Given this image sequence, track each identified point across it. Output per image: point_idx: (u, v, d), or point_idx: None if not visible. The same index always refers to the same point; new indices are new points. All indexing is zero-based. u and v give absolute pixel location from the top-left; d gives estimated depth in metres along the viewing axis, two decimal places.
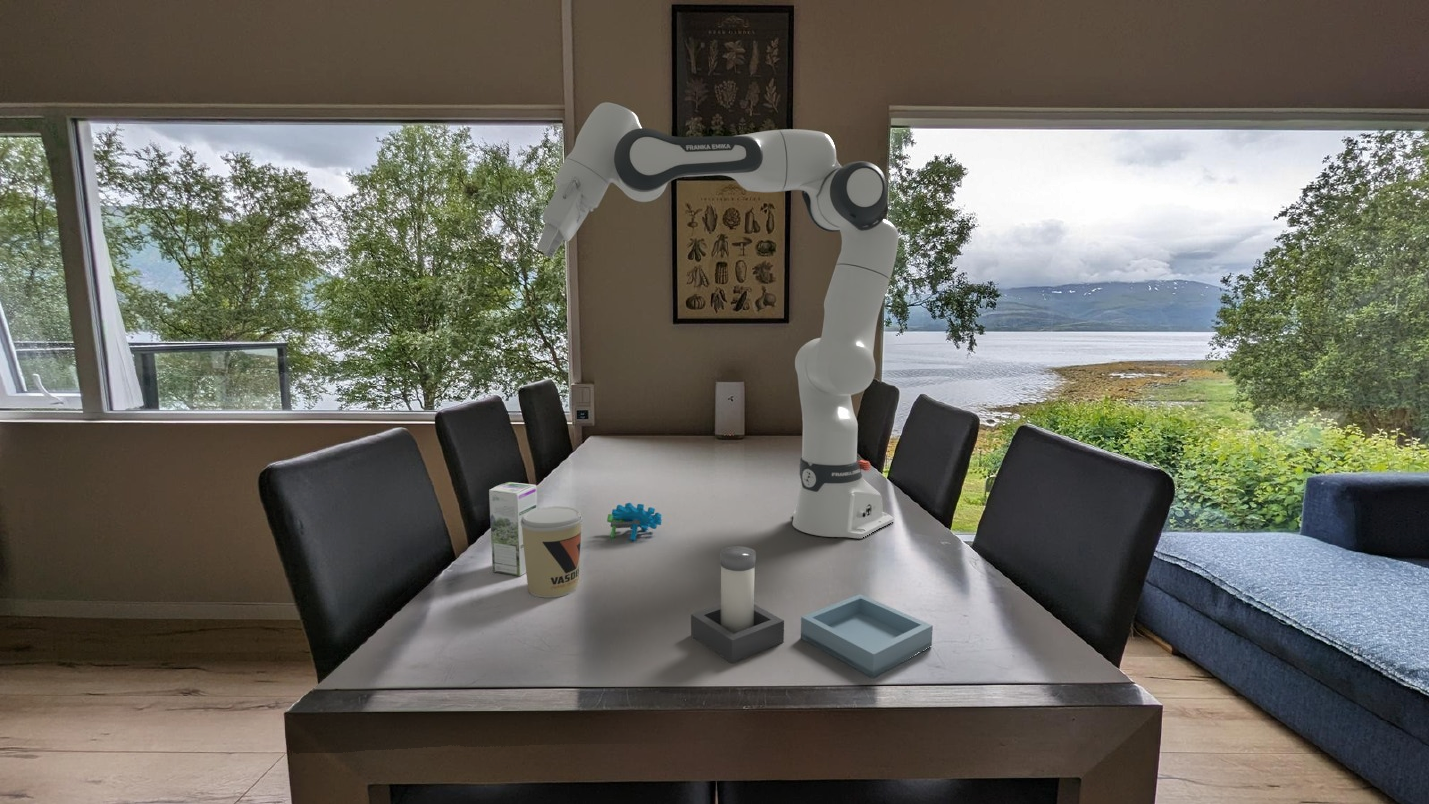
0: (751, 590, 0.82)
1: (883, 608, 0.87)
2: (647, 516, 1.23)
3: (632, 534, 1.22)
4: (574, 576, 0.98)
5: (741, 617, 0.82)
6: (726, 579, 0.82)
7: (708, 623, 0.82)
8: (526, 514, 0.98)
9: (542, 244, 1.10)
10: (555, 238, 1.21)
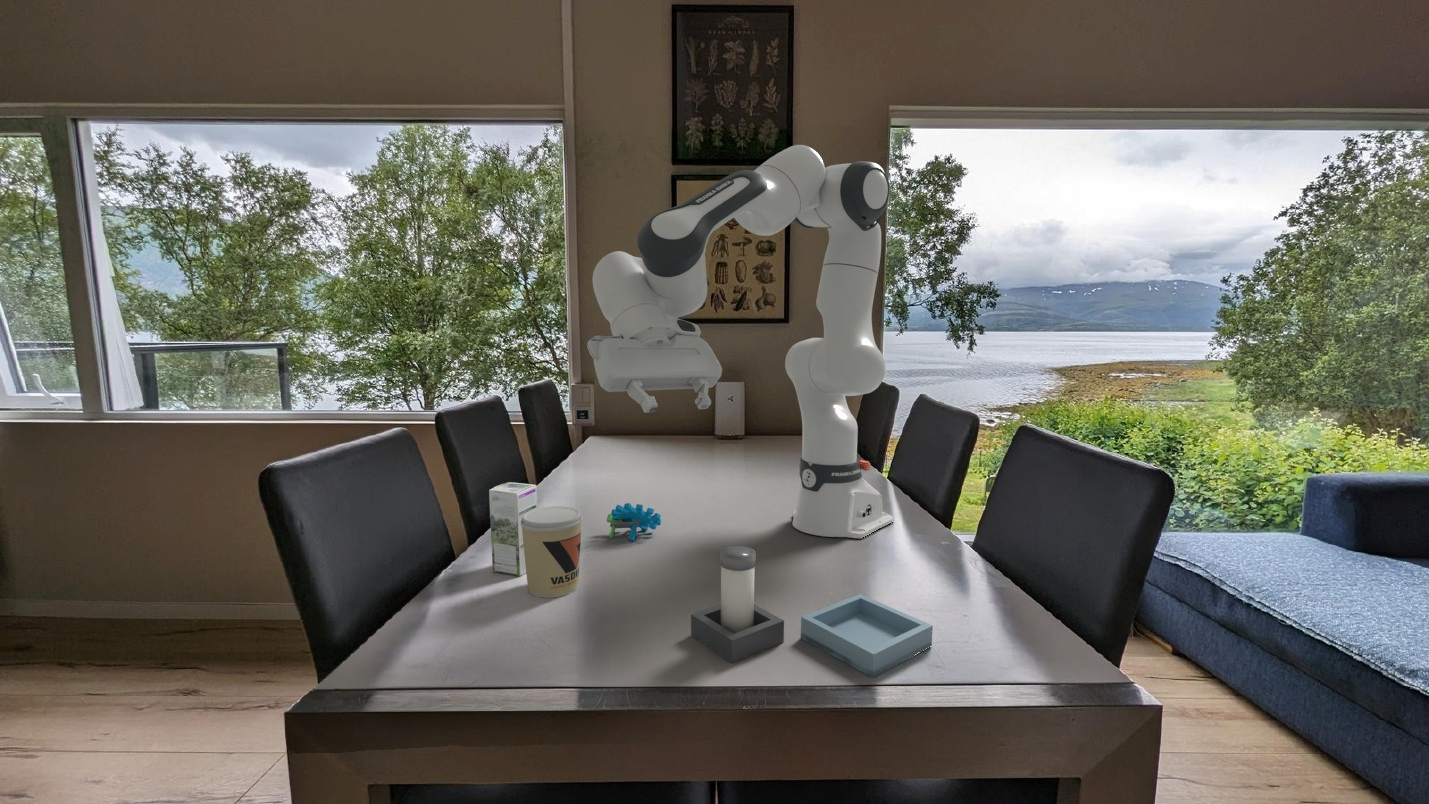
0: (751, 590, 0.82)
1: (883, 608, 0.87)
2: (646, 516, 1.22)
3: (631, 534, 1.21)
4: (574, 576, 0.98)
5: (741, 617, 0.82)
6: (726, 579, 0.82)
7: (708, 623, 0.82)
8: (526, 514, 0.98)
9: (644, 405, 0.88)
10: (697, 387, 0.96)
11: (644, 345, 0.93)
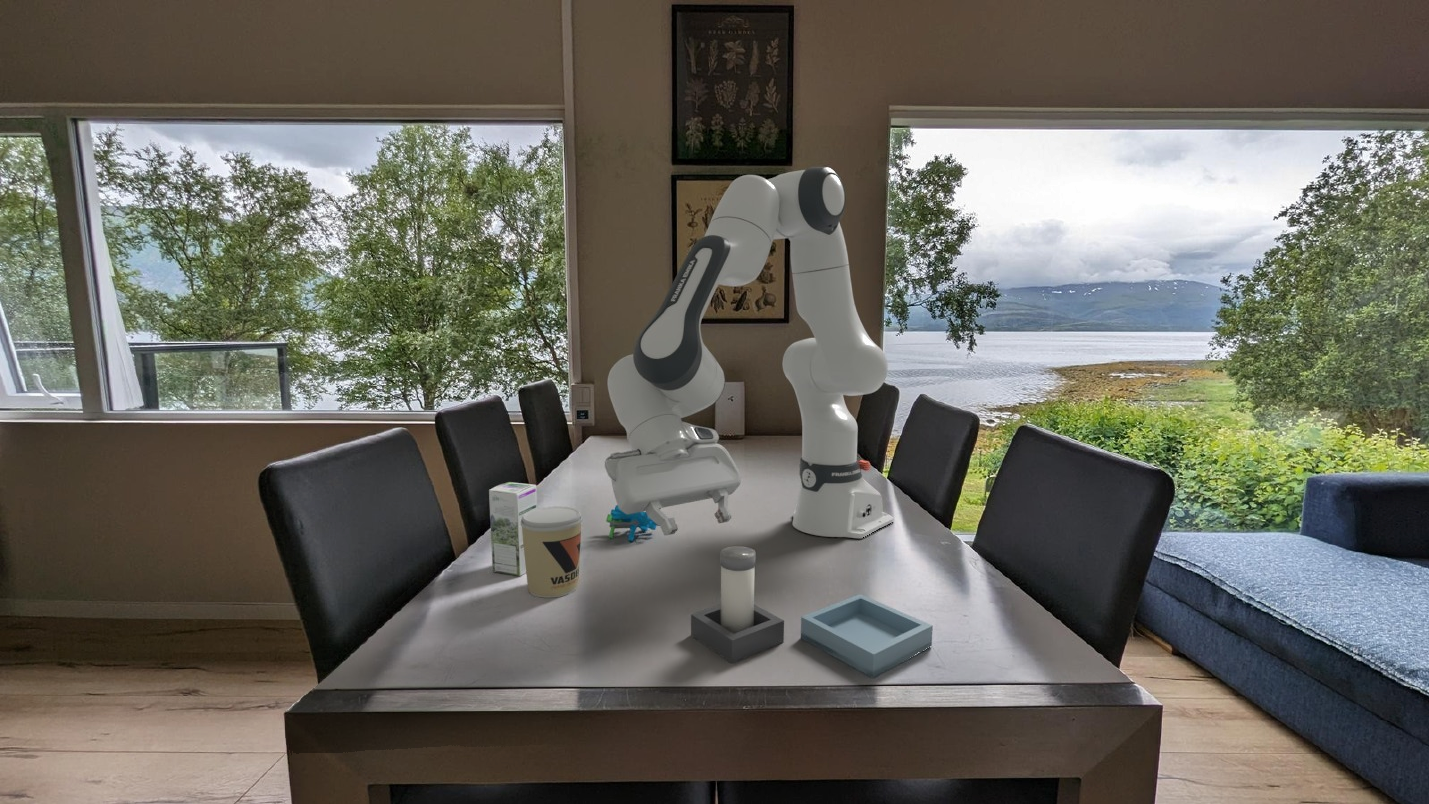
0: (751, 590, 0.82)
1: (883, 608, 0.87)
2: (645, 517, 1.22)
3: (630, 535, 1.21)
4: (574, 576, 0.98)
5: (741, 617, 0.82)
6: (726, 579, 0.82)
7: (708, 623, 0.82)
8: (526, 514, 0.98)
9: (663, 527, 0.86)
10: (716, 498, 0.94)
11: (662, 460, 0.91)
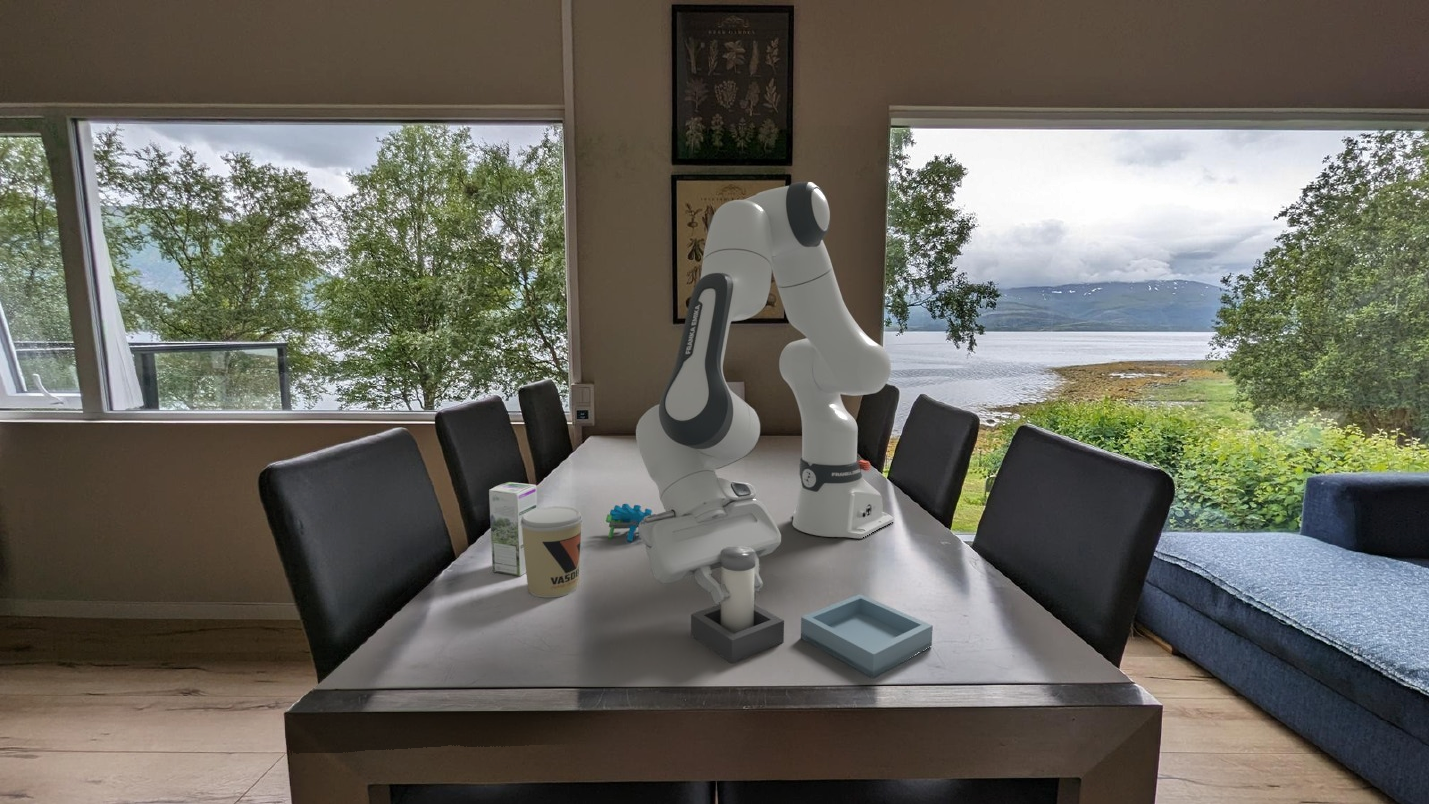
0: (751, 590, 0.82)
1: (883, 608, 0.87)
2: None
3: (629, 535, 1.21)
4: (574, 576, 0.98)
5: (741, 617, 0.82)
6: (726, 579, 0.82)
7: (708, 623, 0.82)
8: (526, 514, 0.98)
9: (714, 595, 0.81)
10: None
11: (699, 522, 0.85)
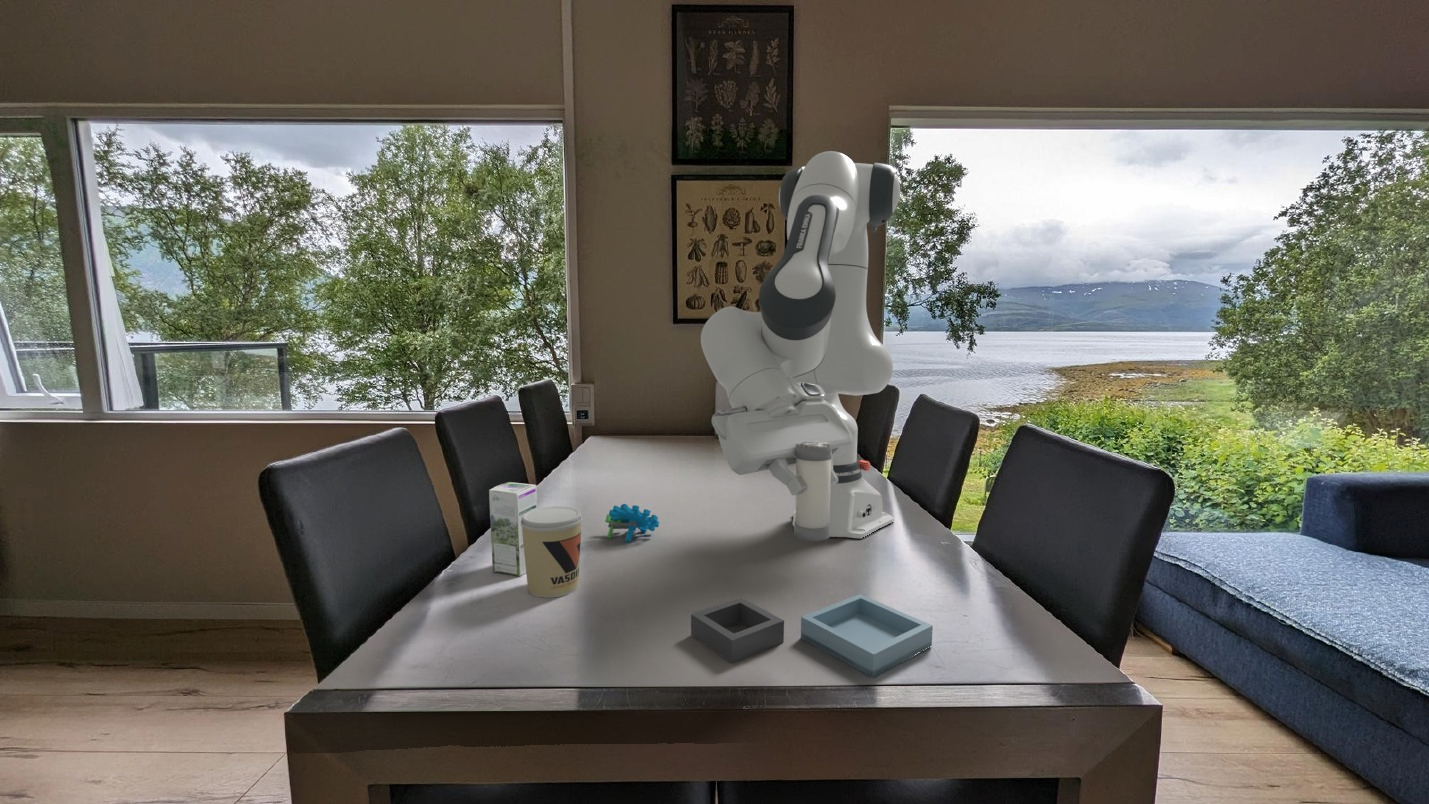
0: (828, 482, 0.80)
1: (883, 608, 0.87)
2: (643, 518, 1.22)
3: (627, 535, 1.21)
4: (574, 576, 0.98)
5: (818, 509, 0.80)
6: (802, 470, 0.79)
7: (708, 623, 0.82)
8: (526, 514, 0.98)
9: (791, 486, 0.79)
10: None
11: (772, 417, 0.83)
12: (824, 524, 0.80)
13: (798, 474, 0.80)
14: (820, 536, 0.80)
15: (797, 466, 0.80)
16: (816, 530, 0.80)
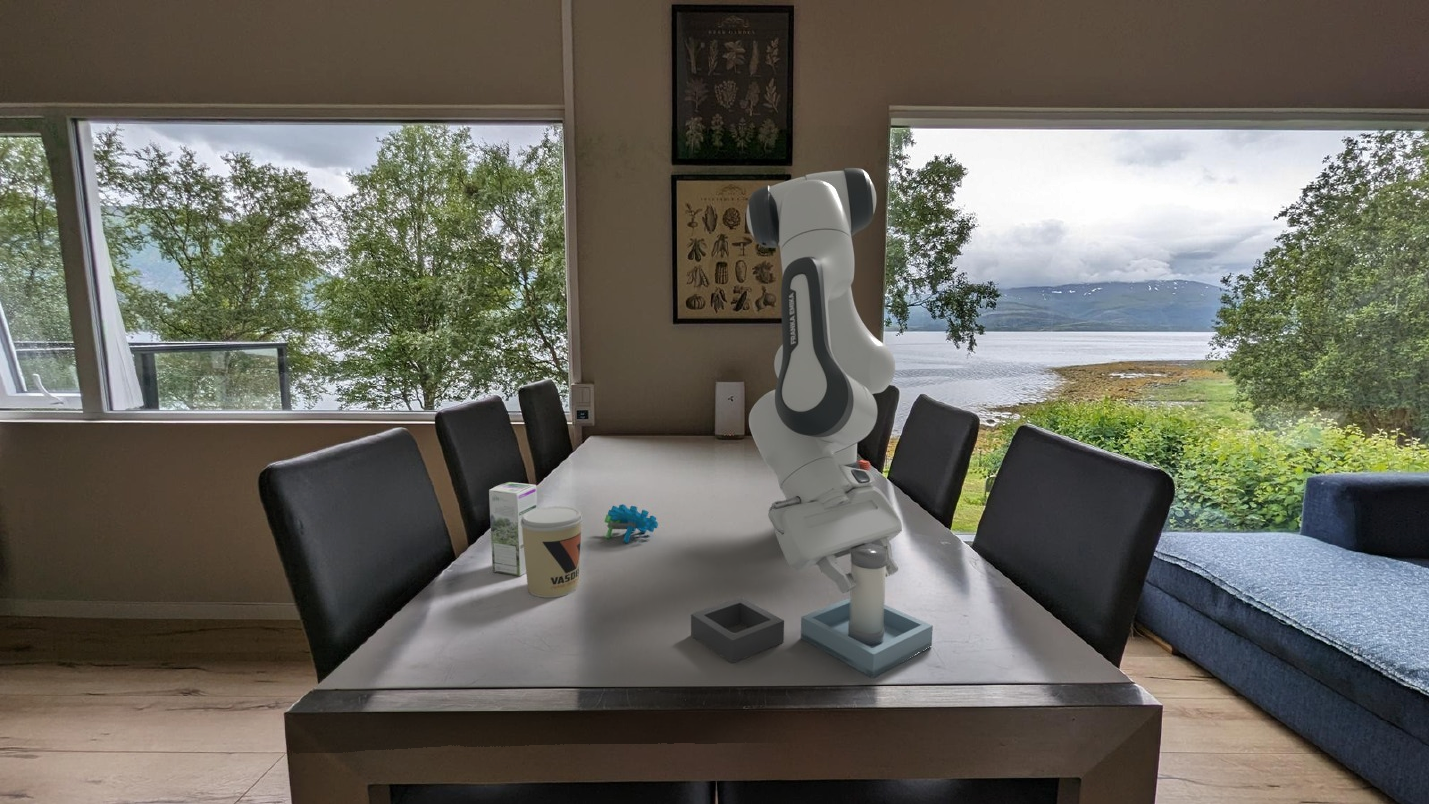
0: (883, 588, 0.81)
1: None
2: (641, 519, 1.21)
3: (625, 536, 1.20)
4: (574, 576, 0.98)
5: (874, 615, 0.81)
6: (858, 577, 0.81)
7: (708, 623, 0.82)
8: (526, 514, 0.98)
9: (841, 584, 0.79)
10: None
11: (826, 508, 0.84)
12: (879, 629, 0.81)
13: (854, 579, 0.81)
14: (875, 641, 0.81)
15: (852, 571, 0.81)
16: (872, 635, 0.81)
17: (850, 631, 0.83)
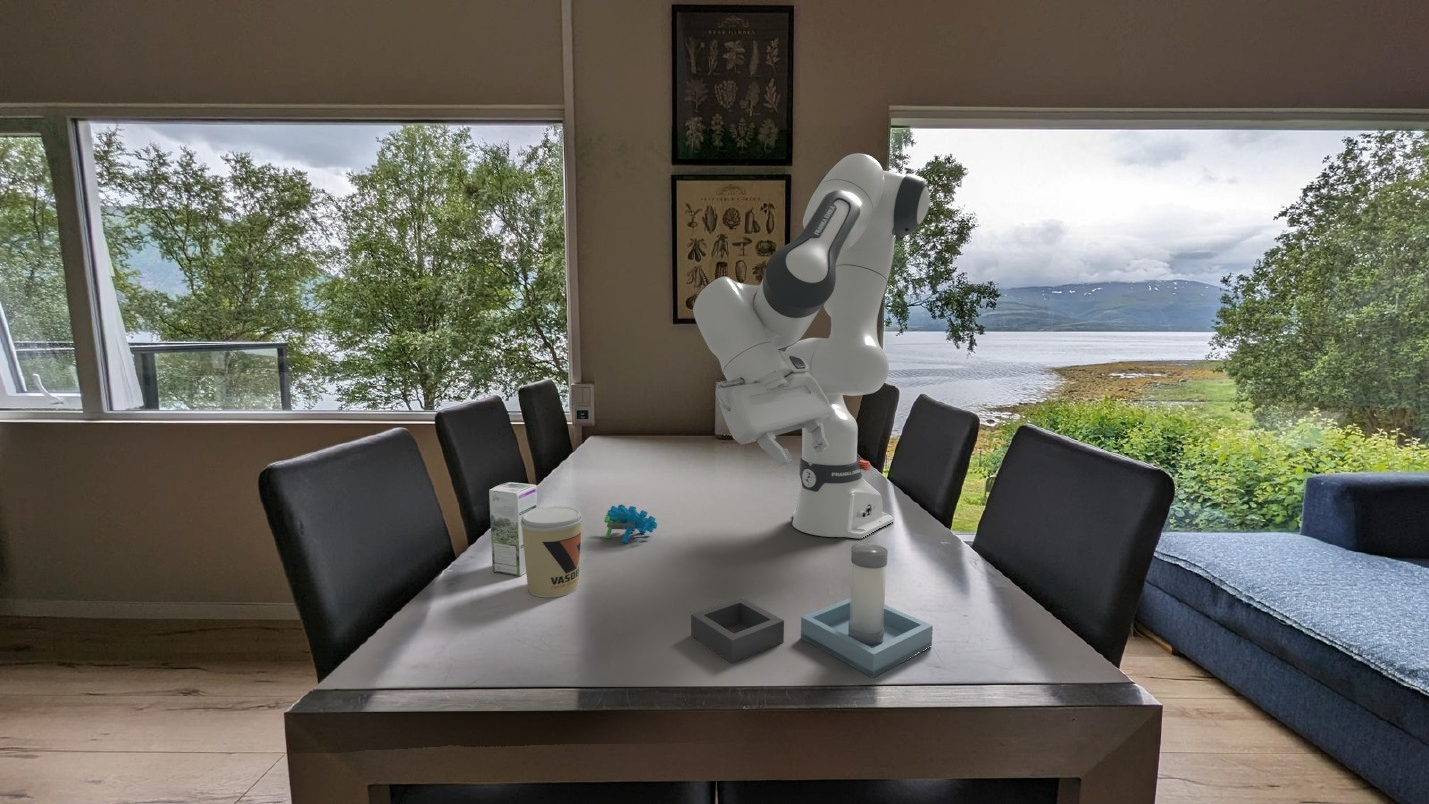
0: (883, 588, 0.81)
1: None
2: (641, 519, 1.21)
3: (624, 536, 1.20)
4: (574, 576, 0.98)
5: (874, 615, 0.81)
6: (859, 576, 0.81)
7: (708, 623, 0.82)
8: (526, 514, 0.98)
9: (778, 458, 0.86)
10: (811, 428, 0.94)
11: (767, 389, 0.89)
12: (879, 629, 0.81)
13: (854, 579, 0.81)
14: (875, 641, 0.81)
15: (853, 571, 0.82)
16: (872, 635, 0.81)
17: (850, 631, 0.83)
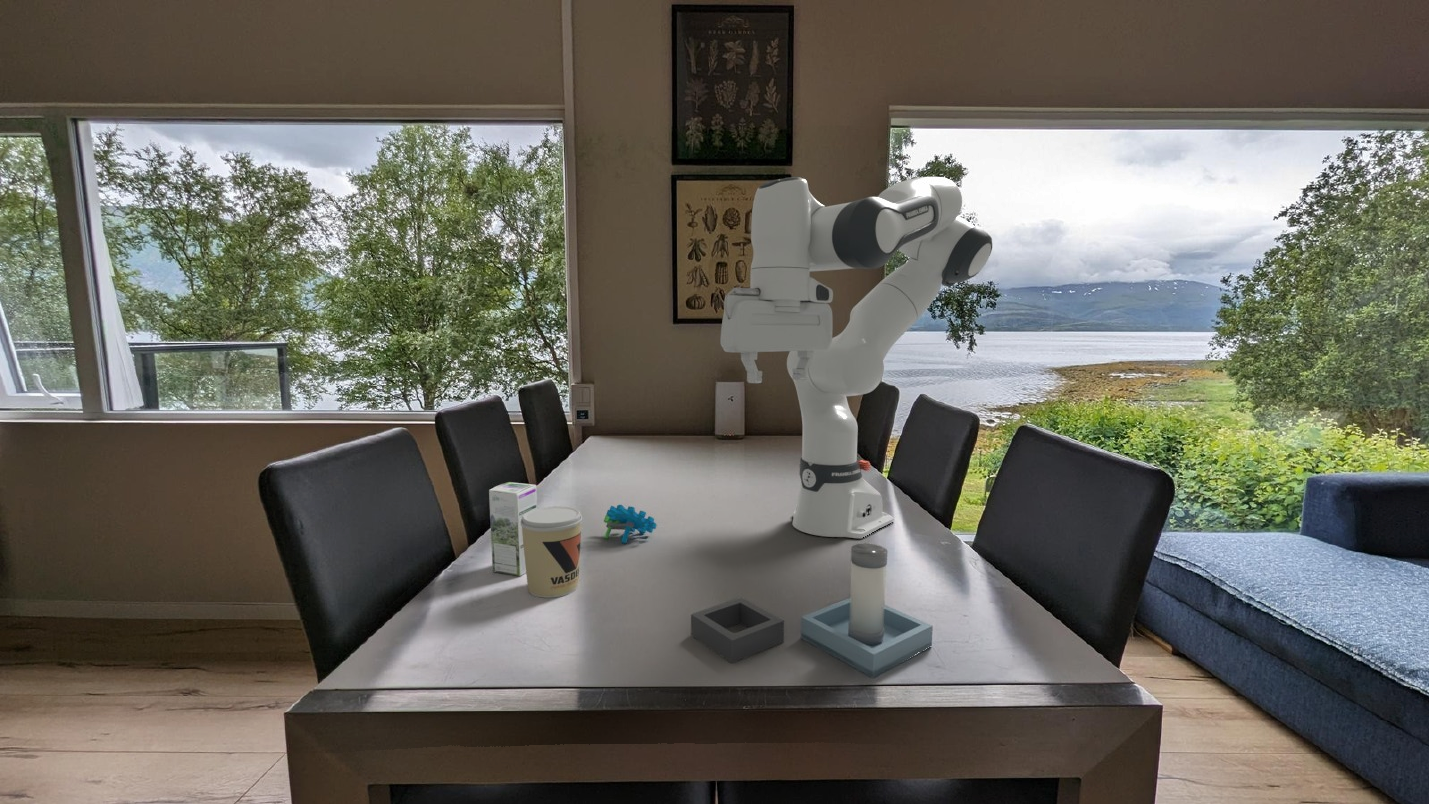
0: (883, 588, 0.81)
1: None
2: (639, 519, 1.21)
3: (623, 536, 1.20)
4: (574, 576, 0.98)
5: (874, 615, 0.81)
6: (859, 576, 0.81)
7: (708, 623, 0.82)
8: (526, 514, 0.98)
9: (750, 375, 0.93)
10: (801, 355, 0.99)
11: (776, 311, 0.92)
12: (879, 629, 0.81)
13: (854, 579, 0.81)
14: (875, 641, 0.81)
15: (853, 571, 0.82)
16: (872, 635, 0.81)
17: (850, 631, 0.83)
